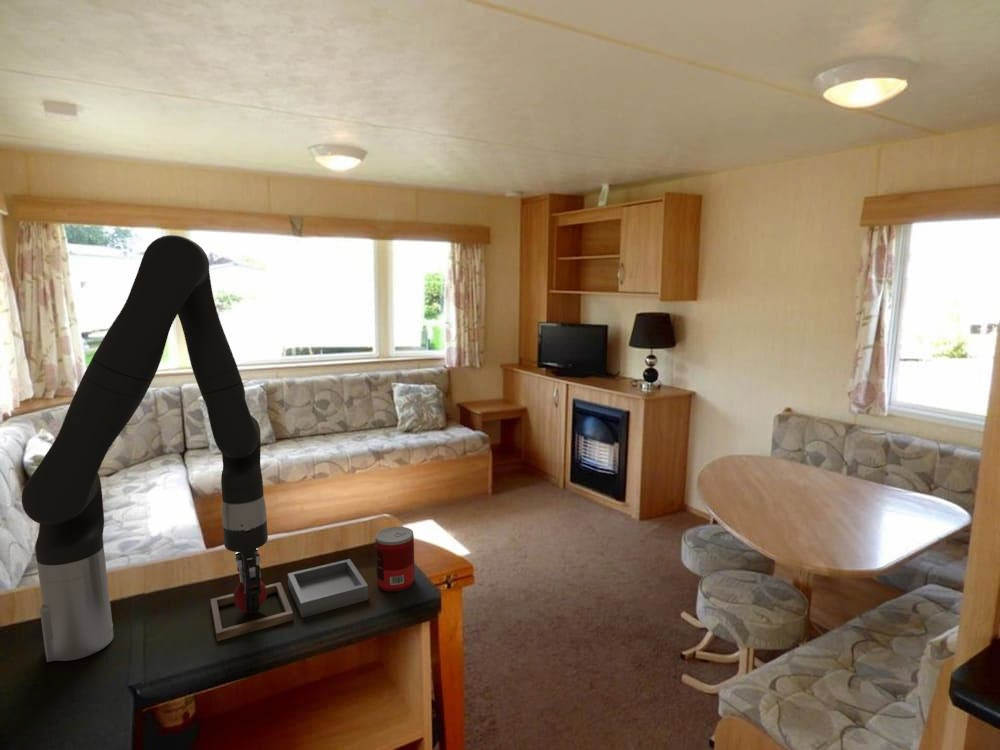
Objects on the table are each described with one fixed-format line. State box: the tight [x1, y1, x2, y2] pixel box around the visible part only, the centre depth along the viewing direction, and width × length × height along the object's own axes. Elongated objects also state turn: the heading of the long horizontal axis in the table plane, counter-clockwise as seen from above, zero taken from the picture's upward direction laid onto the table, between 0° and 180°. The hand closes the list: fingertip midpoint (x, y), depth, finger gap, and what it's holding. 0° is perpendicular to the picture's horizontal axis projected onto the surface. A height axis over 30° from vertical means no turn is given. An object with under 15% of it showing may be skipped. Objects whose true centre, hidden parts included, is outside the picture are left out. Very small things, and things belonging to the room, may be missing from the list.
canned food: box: [374, 526, 415, 592], centre depth 123 cm, size 8×8×11 cm
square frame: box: [210, 581, 294, 642], centre depth 112 cm, size 13×13×2 cm
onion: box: [233, 580, 268, 614], centre depth 111 cm, size 6×6×8 cm
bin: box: [287, 558, 370, 618], centre depth 119 cm, size 13×13×3 cm
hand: (250, 603), depth 112 cm, fingers closed on onion, 5 cm apart
